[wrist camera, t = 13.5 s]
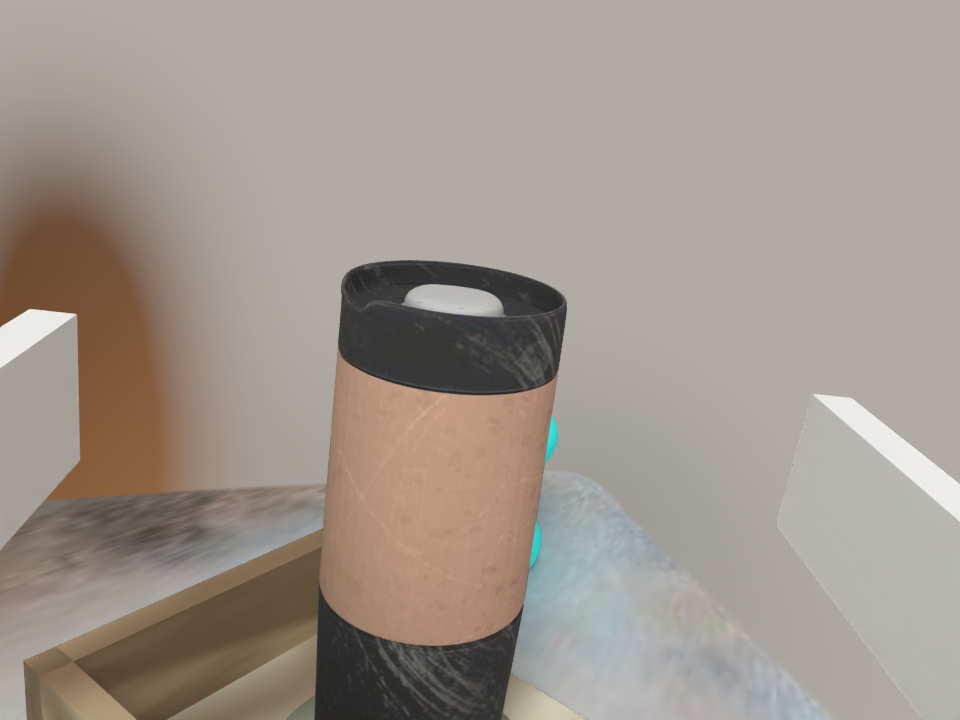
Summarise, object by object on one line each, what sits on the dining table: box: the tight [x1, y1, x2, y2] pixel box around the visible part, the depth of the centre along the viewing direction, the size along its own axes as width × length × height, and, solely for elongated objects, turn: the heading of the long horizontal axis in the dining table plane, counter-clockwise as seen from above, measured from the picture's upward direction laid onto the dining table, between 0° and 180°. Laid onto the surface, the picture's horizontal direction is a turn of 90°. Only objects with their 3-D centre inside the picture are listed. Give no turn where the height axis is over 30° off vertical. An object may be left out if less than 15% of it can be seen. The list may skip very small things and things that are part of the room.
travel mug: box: [314, 260, 567, 720], centre depth 31 cm, size 8×8×20 cm
